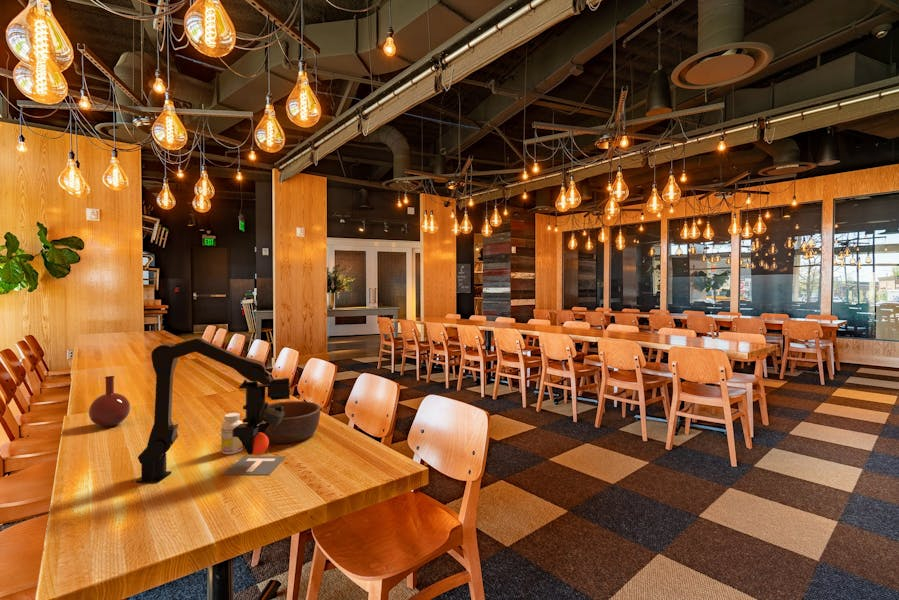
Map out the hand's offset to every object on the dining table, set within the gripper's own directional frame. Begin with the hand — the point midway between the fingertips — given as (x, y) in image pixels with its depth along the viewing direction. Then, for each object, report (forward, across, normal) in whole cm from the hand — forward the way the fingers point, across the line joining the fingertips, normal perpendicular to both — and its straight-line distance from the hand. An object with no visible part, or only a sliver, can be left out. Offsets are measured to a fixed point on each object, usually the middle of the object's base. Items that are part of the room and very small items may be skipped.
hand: (255, 449), depth 136 cm
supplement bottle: (+5, +12, +13) cm, 18 cm away
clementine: (+2, 0, 0) cm, 2 cm away
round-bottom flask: (+6, +39, +74) cm, 84 cm away
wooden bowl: (+5, +28, 0) cm, 29 cm away
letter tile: (+5, 0, 0) cm, 5 cm away
